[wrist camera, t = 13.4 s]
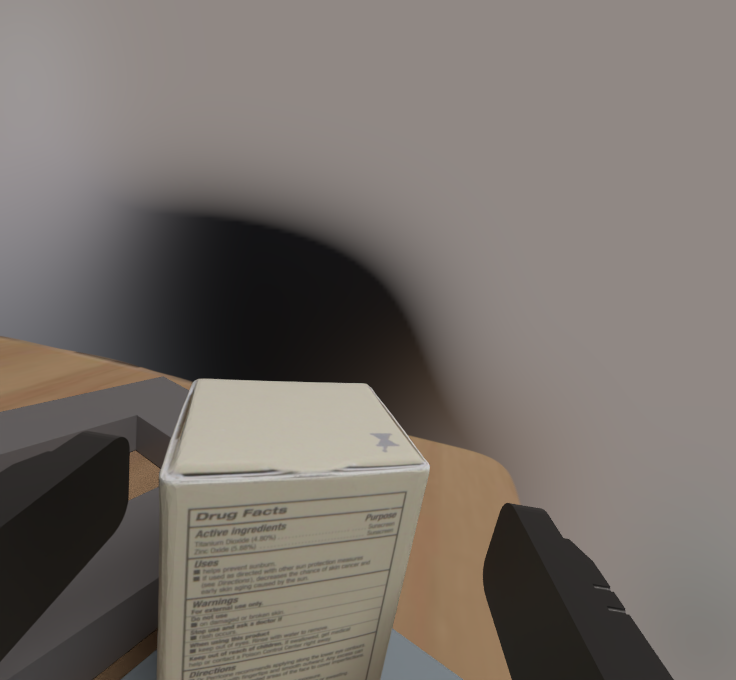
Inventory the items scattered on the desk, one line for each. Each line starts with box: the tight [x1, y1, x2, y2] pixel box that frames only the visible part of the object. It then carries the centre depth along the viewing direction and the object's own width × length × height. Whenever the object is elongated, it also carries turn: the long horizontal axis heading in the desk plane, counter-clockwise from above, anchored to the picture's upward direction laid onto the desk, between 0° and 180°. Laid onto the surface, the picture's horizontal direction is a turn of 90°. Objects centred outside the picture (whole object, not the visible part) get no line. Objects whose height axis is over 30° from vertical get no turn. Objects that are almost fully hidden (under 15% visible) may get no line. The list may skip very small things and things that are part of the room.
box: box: [157, 379, 430, 680], centre depth 10 cm, size 5×4×11 cm
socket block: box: [0, 377, 189, 680], centre depth 20 cm, size 16×16×2 cm
